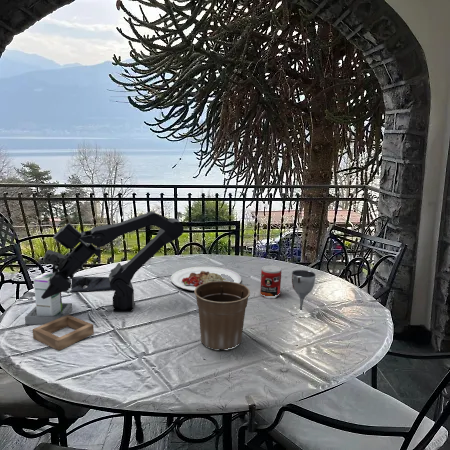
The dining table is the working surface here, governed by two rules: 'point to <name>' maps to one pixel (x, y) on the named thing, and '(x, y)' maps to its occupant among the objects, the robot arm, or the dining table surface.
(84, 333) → the brown wooden square frame
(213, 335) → the plant pot
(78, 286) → the dark slate chunk
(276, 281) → the canned food
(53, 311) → the syrup box
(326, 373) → the dining table surface
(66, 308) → the holder
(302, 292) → the grey funnel
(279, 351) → the dining table surface
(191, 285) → the plated food
